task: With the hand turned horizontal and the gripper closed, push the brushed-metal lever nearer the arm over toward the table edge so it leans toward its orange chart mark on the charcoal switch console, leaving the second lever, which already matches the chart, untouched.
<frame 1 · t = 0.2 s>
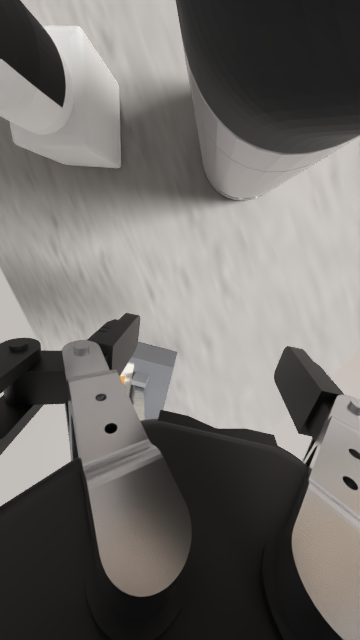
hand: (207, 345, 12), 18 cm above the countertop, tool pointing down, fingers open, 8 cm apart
switch console: (142, 401, 38), on the countertop
medicine bottle: (90, 128, 23), on the countertop
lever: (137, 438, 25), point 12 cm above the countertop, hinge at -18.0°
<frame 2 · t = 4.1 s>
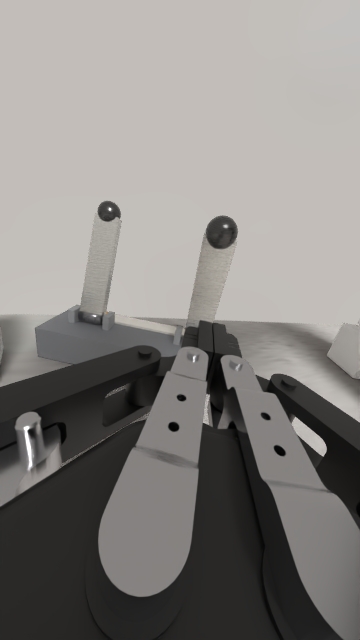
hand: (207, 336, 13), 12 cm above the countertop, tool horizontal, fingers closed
switch console: (139, 359, 30), on the countertop
medicine bottle: (355, 370, 39), on the countertop
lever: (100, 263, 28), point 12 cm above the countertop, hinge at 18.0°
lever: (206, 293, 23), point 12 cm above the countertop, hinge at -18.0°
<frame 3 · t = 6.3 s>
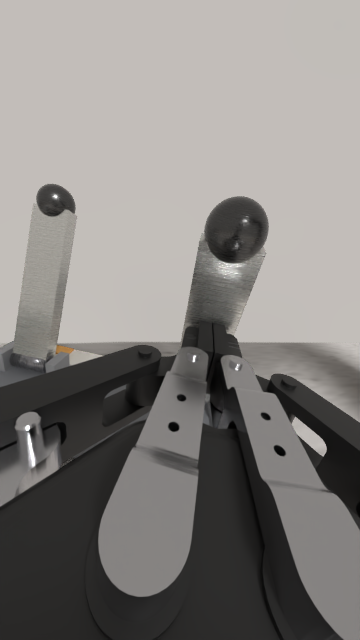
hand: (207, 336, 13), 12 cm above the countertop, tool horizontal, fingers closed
switch console: (107, 419, 20), on the countertop
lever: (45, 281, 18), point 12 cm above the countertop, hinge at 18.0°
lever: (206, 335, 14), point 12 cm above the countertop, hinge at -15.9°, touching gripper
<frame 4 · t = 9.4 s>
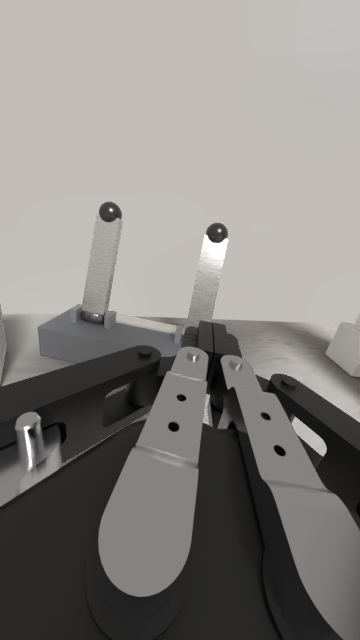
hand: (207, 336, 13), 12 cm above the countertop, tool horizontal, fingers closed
switch console: (140, 357, 31), on the countertop
medicine bottle: (353, 368, 39), on the countertop
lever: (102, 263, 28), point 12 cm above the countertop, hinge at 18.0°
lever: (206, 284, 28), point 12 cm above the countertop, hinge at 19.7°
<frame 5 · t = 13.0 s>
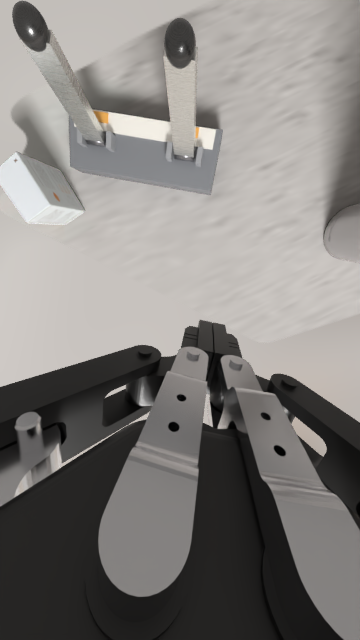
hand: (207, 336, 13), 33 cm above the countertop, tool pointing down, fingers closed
switch console: (148, 157, 38), on the countertop
small box: (64, 199, 42), on the countertop
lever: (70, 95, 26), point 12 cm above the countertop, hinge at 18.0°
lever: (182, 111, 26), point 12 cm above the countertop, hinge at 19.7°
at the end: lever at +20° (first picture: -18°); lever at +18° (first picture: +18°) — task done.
